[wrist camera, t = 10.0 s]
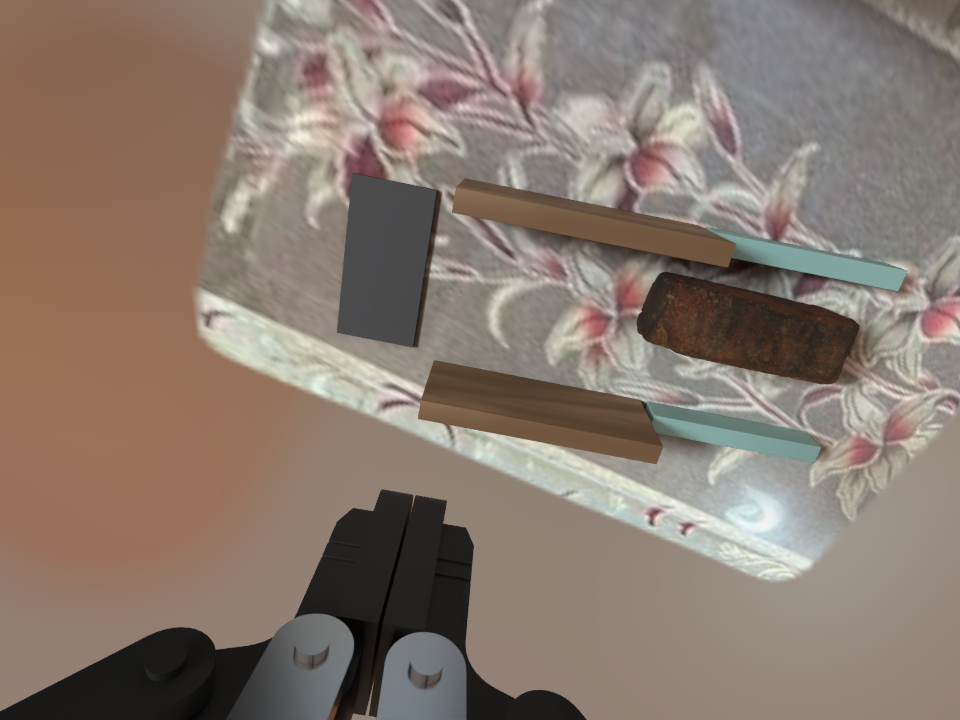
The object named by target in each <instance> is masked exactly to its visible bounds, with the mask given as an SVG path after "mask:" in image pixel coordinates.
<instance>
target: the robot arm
mask: <svg viewBox="0 0 960 720" xmlns="http://www.w3.org/2000/svg"><path fill="white" fill-rule="evenodd" d="M412 502H413V495H411V494H406V493H400V492H394V491H389V490H381V492H380V494H379V497H378V500H377V503H376V506H375V508H374V511H368V510H362V509H356V508H353V509H352V510H350V511H349V512H348V513H347V514H346V515H345V516H343V517H342V518H341V519H340V520H339V521H337V523H336V526H335V528H334V530H333V532H332V535H331V537H330V539H329V543H328V544H327V546H326V548H325V551H324V553H323V556H322V558H321V560H320V562H319V564H318V566H317V569H316V571H315V573H314V576H313V578H312V580H311V582H310V585H309V587H308V589H307V592H306V594H305V596H304V598H303V600H302V603H301V605H300V607H299V610H298V612H297V614H296V616H295V618H294V619H292V620H291V621H289V622H287V623H286V624H284V625H283V626H282V627H281V628H280V629H279V630H278V631H277V632H276V633H275V635H274V636H273V637H272V638H271V639H268V640H266V641H264V642H261V643H258V644H254V645H249V646H243V647H235V648H226V649H219V650H215V646H214V644H213V642H212V640H211V639H210V638H209V637H208V636H207V635H206V634H204V633H203V632H201V631H198V630H196V629H192V628H183V627H179V628H170V629H165V630H162V631H159V632H156V633H153V634H151V635H149V636H147V637H145V638H143V639H141V640H139V641H137V642H135V643H133V644H131V645H129V646H127V647H125V648H123V649H121V650H119V651H118V652H116V653H114V654H112V655H110V656H108V657H106V658H104V659H102V660H100V661H98V662H96V663H94V664H92V665H90V666H88V667H86V668H84V669H82V670H80V671H78V672H76V673H74V674H72V675H71V676H69V677H67V678H65V679H63V680H61V681H59V682H57V683H55V684H53V685H51V686H49V687H47V688H45V689H43V690H41V691H39V692H37V693H36V694H33V695H31V696H29V697H27V698H25V699H24V700H22V701H20V702H18V703H16V704H14V705H12V706H10V707H8V708H6V709H4V710H2V711H0V720H351V718H352V715H353V713H354V714H360V715H365V714H366V710H367V706H368V702H369V697H370V694H371V690H372V686H373V691H372V698H371V705H370V712H369V716H374V717H376V720H586V718H585V717H584V716H583V715H582V713H581V712H580V711H579V710H578V709H577V708H576V707H575V706H574V705H573V704H572V703H571V702H570V701H569V700H567V699H566V698H564V697H562V696H561V695H558V694H556V693H553V692H550V691H545V690H533V691H528V692H526V693H523V694H521V695H520V696H519V697H517V698H516V699H514V698H513V697H511V696H509V695H507V694H505V693H503V692H501V691H499V690H497V689H495V688H494V687H492V686H491V685H489V684H487V683H486V682H485V681H484V680H483V679H481V677H480V676H479V675H478V674H477V673H476V672H475V670H474V669H473V668H472V666H471V664H470V662H469V660H468V657H467V654H466V648H465V640H466V630H467V618H468V606H469V595H470V581H471V571H472V560H473V549H474V545H473V543H472V540H471V538H470V536H469V534H468V531H467V529H466V528H465V527H459V526H453V525H448V524H443V521H444V515H445V509H446V503H447V501H446V500H440V499H434V498H429V497H423V496H418V495H416V496H415V500H414V504H413V507H412ZM411 509H412V511H411ZM373 682H374V685H373Z"/></svg>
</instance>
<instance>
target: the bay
mask: <svg viewBox="0 0 960 720" xmlns="http://www.w3.org/2000/svg"><path fill="white" fill-rule="evenodd" d="M706 229H707V230H709V231H711V232H713V233H715V234H717V235H719V236H721V237H723V238H725V239H727V240H729V241H732V242H734V243H736V247H735V249H734V252H733V255H732V258H735V259H740V260H745V261H750V262H755V263H760V264H765V265H770V266H775V267H780V268H785V269H790V270H795V271H800V272H805V273H810V274H815V275H820V276H825V277H830V278H835V279H840V280H845V281H850V282H855V283H859V284H864V285H869V286H874V287H879V288H884V289H889V290H894V291H898V290H899V288H900V286H901V284H902V282H903V280H904V278H905V276H906V274H907V272H908V271H907V270H904V269H901V268H898V267H895V266H892V265H889V264H886V263H882V262H877V261H872V260H867V259H862V258H857V257H852V256H847V255H842V254H837V253H832V252H827V251H822V250H818V249H813V248H808V247H803V246H798V245H793V244H788V243H783V242H778V241H773V240H768V239H763V238H758V237H753V236H748V235H743V234H738V233H733V232H728V231H723V230H718V229H713V228H708V227H706ZM645 411H646V413H647V415H648V417H649V419H650V421H651V423H652V425H653V427H654V429H655V431H656V433H659V434H664V435H669V436H674V437H680V438H685V439H690V440H695V441H701V442H706V443H711V444H716V445H721V446H727V447H732V448H737V449H742V450H748V451H753V452H758V453H763V454H768V455H774V456H779V457H784V458H789V459H795V460H800V461H805V462H810V463H814V462H815V460H816V458H817V456H818V454H819V452H820V450H821V448H822V447H821V446H820V445H819V444H818V443H817V442H816V441H815V440H814V439H813V438H812V437H811V436H810V435H809V434H808V433H807V432H803V431H798V430H793V429H788V428H782V427H777V426H772V425H767V424H762V423H756V422H751V421H746V420H741V419H736V418H730V417H725V416H720V415H715V414H710V413H705V412H699V411H694V410H689V409H684V408H679V407H673V406H668V405H663V404H658V403H653V402H648V401H647V404H646V407H645Z"/></svg>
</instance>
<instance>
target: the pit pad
mask: <svg viewBox="0 0 960 720" xmlns="http://www.w3.org/2000/svg"><path fill="white" fill-rule="evenodd" d="M436 196H437V190H435V189H430V188H425V187H420V186H415V185H410V184H405V183H400V182H395V181H390V180H385V179H380V178H375V177H370V176H365V175H360V174H355V173H352V182H351V192H350V203H349V213H348V223H347V234H346V244H345V255H344V265H343V275H342V286H341V296H340V307H339V317H338V328H337V333H342V334H347V335H352V336H357V337H362V338H367V339H373V340H378V341H383V342H388V343H393V344H398V345H404V346H409V347H413V346H414V339H415V333H416V326H417V320H418V313H419V307H420V300H421V294H422V287H423V281H424V274H425V267H426V261H427V254H428V248H429V241H430V235H431V228H432V222H433V215H434V209H435V202H436Z"/></svg>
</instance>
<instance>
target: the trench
mask: <svg viewBox="0 0 960 720" xmlns="http://www.w3.org/2000/svg"><path fill="white" fill-rule="evenodd" d="M452 213H457V214H462V215H467V216H472V217H477V218H482V219H487V220H492V221H497V222H502V223H507V224H512V225H517V226H522V227H527V228H532V229H537V230H542V231H547V232H552V233H557V234H562V235H567V236H572V237H577V238H582V239H587V240H592V241H597V242H602V243H607V244H612V245H617V246H622V247H627V248H632V249H637V250H642V251H647V252H652V253H657V254H662V255H667V256H672V257H677V258H682V259H687V260H692V261H697V262H702V263H707V264H712V265H717V266H722V267H727V268H728V266H729V263H730V260H731V258H732V255H733V252H734V249H735V247H736V243H734V242H732V241H729V240H727V239H725V238H723V237H721V236H719V235H717V234H715V233H713V232H711V231H709V230H707V229H705V228H702V227H700V226H698V225H694V224H689V223H684V222H679V221H674V220H669V219H664V218H659V217H654V216H649V215H644V214H639V213H634V212H629V211H624V210H619V209H614V208H609V207H604V206H599V205H594V204H589V203H584V202H579V201H574V200H570V199H565V198H560V197H555V196H550V195H545V194H540V193H535V192H530V191H525V190H520V189H515V188H510V187H505V186H500V185H495V184H490V183H485V182H480V181H475V180H470V179H464V180H463V181H462V182H461V183H460V184H459V185H458V186H457V187H456V191H455V198H454V204H453V210H452ZM418 419H422V420H427V421H432V422H438V423H443V424H448V425H453V426H459V427H464V428H469V429H474V430H480V431H485V432H490V433H495V434H501V435H506V436H511V437H516V438H522V439H527V440H532V441H538V442H543V443H548V444H553V445H559V446H564V447H569V448H574V449H580V450H585V451H590V452H595V453H601V454H606V455H611V456H616V457H622V458H627V459H632V460H638V461H643V462H648V463H653V464H657V461H658V459H659V456H660V453H661V450H662V448H663V446H662V444H661V441H660V439H659V437H658V435H657V433H656V431H655V429H654V427H653V425H652V423H651V421H650V419H649V417H648V415H647V413H646V411H645V409H644V407H643V405H642V403H641V401H640V400H637V399H632V398H627V397H622V396H616V395H611V394H606V393H601V392H596V391H591V390H585V389H580V388H575V387H570V386H565V385H559V384H554V383H549V382H544V381H539V380H533V379H528V378H523V377H518V376H513V375H508V374H502V373H497V372H492V371H487V370H482V369H476V368H471V367H466V366H461V365H456V364H451V363H445V362H440V361H435V360H434V363H433V366H432V369H431V372H430V375H429V378H428V381H427V384H426V387H425V390H424V393H423V396H422V399H421V403H420V409H419V415H418Z"/></svg>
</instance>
